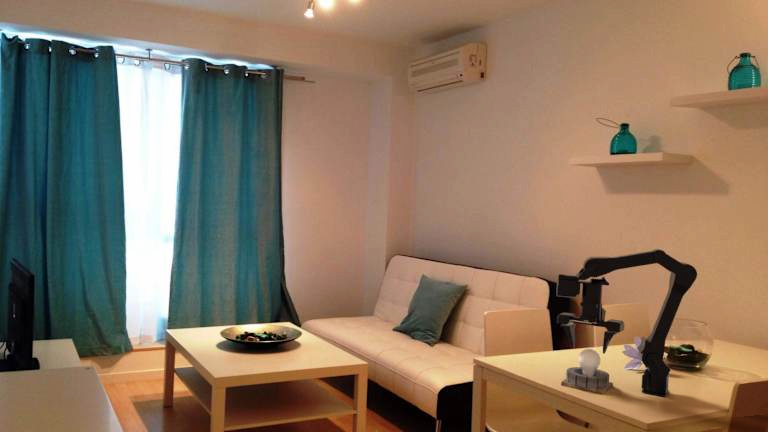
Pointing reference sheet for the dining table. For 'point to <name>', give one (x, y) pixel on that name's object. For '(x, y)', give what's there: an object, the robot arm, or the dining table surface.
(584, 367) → the lightbulb
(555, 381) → the dining table surface
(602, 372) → the grey stone fire pit
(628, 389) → the dining table surface
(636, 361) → the water lily
